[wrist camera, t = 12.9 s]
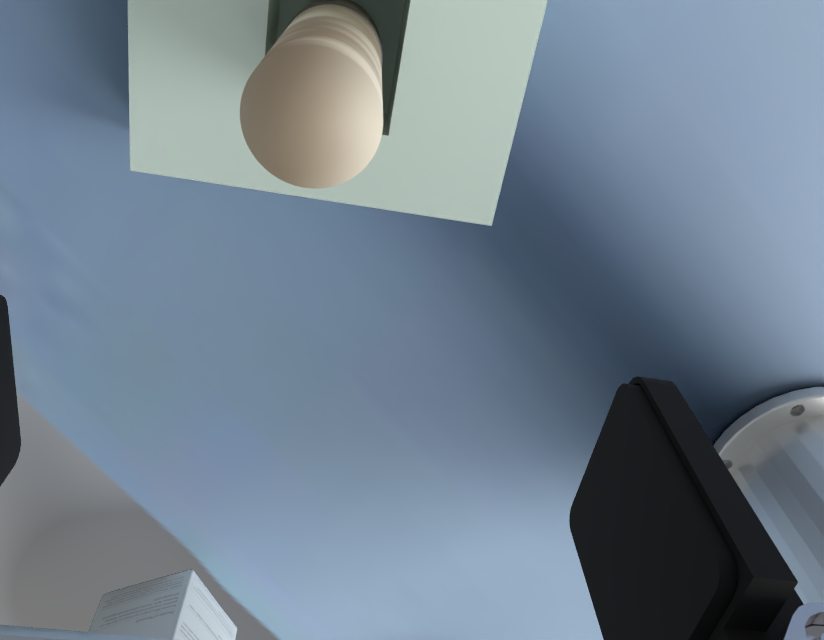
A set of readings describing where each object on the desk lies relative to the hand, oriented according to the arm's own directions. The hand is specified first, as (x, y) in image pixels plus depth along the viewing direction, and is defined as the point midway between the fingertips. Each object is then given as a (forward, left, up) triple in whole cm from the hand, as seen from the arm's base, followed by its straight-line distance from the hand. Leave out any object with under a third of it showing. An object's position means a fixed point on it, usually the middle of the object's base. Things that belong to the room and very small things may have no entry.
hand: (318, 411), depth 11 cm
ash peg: (+1, -1, -25) cm, 25 cm away
